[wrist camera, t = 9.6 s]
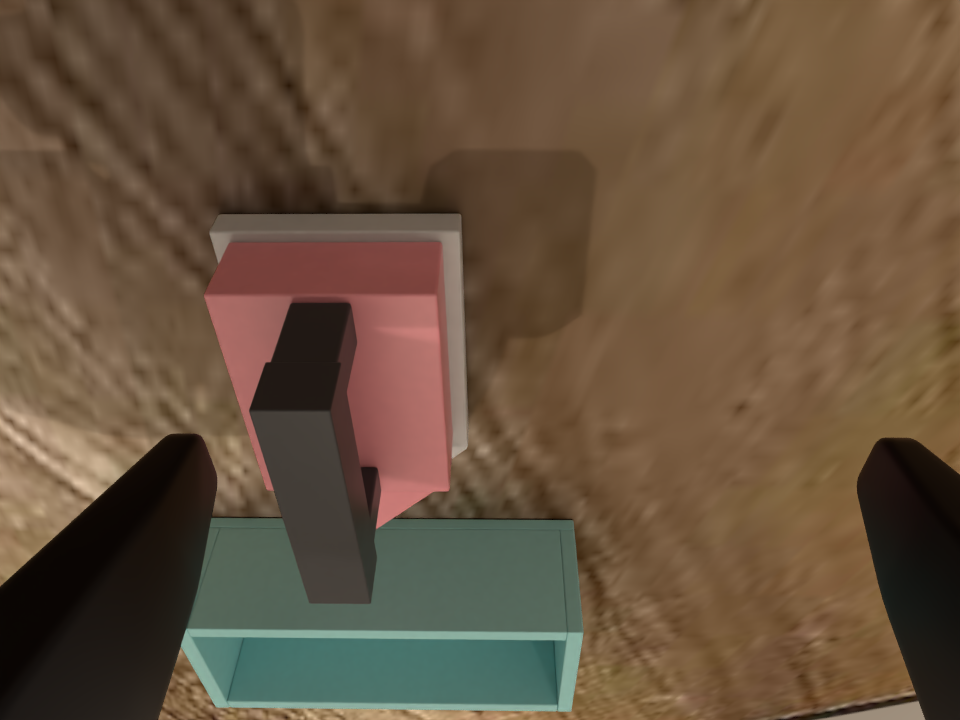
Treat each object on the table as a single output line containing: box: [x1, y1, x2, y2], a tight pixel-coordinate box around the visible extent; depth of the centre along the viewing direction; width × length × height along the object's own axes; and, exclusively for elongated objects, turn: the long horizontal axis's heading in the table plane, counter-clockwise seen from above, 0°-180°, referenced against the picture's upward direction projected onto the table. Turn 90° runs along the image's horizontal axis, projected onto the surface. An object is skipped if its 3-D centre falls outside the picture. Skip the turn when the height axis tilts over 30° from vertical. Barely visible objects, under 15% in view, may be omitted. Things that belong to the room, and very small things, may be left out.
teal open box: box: [181, 518, 584, 712], centre depth 31 cm, size 15×7×5 cm, turn 91°
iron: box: [204, 214, 468, 604], centre depth 23 cm, size 12×7×7 cm, turn 1°
